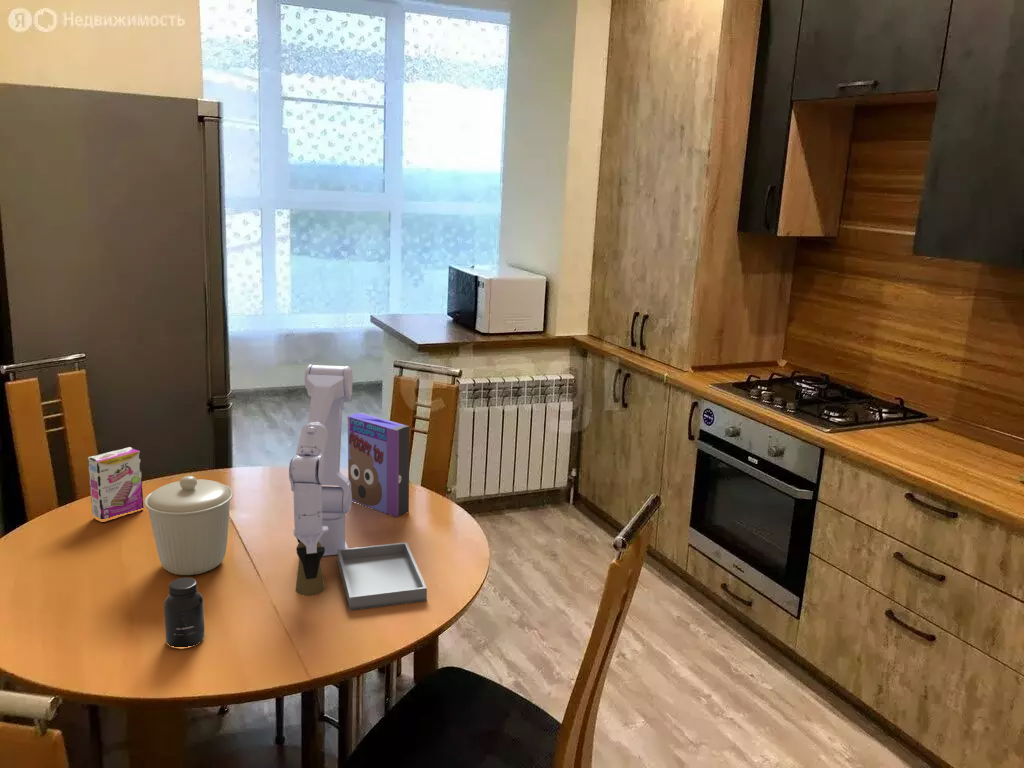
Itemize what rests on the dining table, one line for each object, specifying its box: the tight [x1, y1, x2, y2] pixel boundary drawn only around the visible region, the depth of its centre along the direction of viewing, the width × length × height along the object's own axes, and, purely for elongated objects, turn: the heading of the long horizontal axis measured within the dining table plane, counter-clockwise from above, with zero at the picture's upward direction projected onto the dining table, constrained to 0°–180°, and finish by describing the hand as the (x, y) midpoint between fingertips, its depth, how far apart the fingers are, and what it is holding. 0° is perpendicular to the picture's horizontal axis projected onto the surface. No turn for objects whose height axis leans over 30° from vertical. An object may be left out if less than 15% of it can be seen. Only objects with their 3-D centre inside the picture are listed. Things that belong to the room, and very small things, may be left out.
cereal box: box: [347, 412, 410, 519], centre depth 214 cm, size 17×5×24 cm, turn 55°
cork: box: [295, 541, 325, 597], centre depth 172 cm, size 6×6×11 cm
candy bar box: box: [87, 446, 144, 519], centre depth 203 cm, size 11×5×16 cm, turn 144°
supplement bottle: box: [163, 576, 206, 647], centre depth 152 cm, size 7×7×12 cm
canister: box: [143, 475, 234, 576], centre depth 179 cm, size 18×18×21 cm
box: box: [336, 542, 428, 612], centre depth 178 cm, size 16×22×3 cm
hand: (309, 569), depth 172 cm, fingers open, 7 cm apart
